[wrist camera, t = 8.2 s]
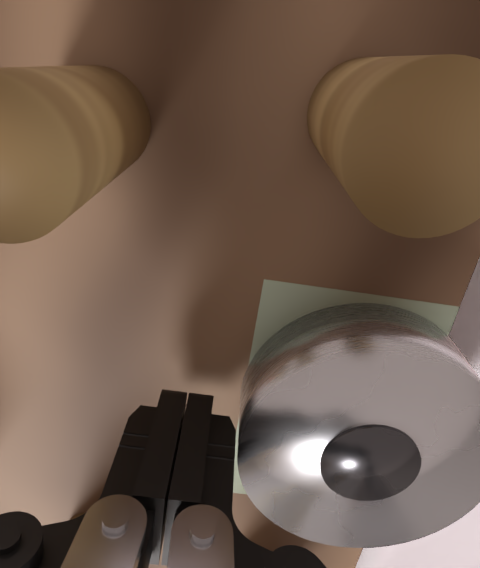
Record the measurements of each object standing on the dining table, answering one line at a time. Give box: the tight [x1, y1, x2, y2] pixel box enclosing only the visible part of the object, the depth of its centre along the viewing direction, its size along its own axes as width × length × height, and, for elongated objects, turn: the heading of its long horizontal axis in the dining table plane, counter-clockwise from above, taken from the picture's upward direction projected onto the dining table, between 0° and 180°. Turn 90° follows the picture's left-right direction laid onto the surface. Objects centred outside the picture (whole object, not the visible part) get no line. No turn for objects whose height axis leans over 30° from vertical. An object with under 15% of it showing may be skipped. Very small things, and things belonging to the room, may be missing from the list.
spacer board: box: [0, 0, 480, 568], centre depth 13 cm, size 18×24×6 cm
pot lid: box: [237, 303, 480, 548], centre depth 13 cm, size 7×7×2 cm
